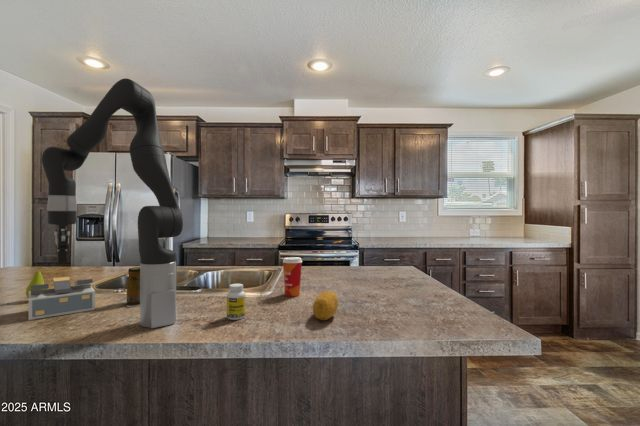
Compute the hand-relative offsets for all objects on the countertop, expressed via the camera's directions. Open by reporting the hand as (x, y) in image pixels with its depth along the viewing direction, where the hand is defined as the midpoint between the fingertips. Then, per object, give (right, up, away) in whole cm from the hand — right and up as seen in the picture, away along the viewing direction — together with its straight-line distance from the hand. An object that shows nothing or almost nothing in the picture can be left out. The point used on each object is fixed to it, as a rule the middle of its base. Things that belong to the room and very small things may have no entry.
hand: (62, 262), depth 108 cm
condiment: (+21, -15, +6) cm, 27 cm away
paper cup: (+74, -15, +18) cm, 78 cm away
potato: (+86, -16, -8) cm, 88 cm away
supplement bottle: (+59, -15, -9) cm, 62 cm away
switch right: (+6, -7, +1) cm, 10 cm away
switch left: (-2, -7, -6) cm, 10 cm away
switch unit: (+2, -15, -3) cm, 15 cm away
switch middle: (+2, -7, -3) cm, 8 cm away
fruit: (-15, -15, +8) cm, 23 cm away
